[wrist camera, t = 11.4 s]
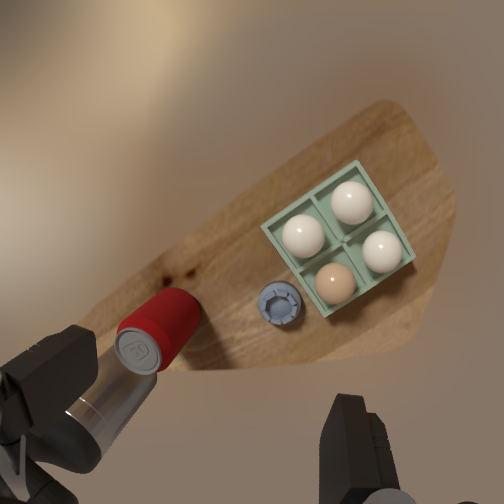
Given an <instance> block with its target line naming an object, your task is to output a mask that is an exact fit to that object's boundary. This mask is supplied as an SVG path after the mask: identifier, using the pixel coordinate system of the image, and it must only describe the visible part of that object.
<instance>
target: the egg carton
mask: <svg viewBox="0 0 504 504" xmlns="http://www.w3.org/2000/svg"><path fill="white" fill-rule="evenodd" d="M347 181H356V182H359V183H361V184H363V185H364V186H366V187H367V188H368V189H369V191H370V193H371V195H372V197H373V210H372V213H371V214H370V216H369V217H368V218H367V219H366V220H365V221H364V222H362V223H360V224H357V225H348V224H345V223H343V222H341V221H339V220H338V219H337V218H336V217H335V215H334V214H333V212H332V209H331V205H330V200H331V195H332V193H333V191H334V190H335V188H336V187H337V186H339V185H340V184H342V183H344V182H347ZM301 214H305V215H310V216H312V217H314V218H316V219H317V220H318V221H319V222H320V223H321V224H322V226H323V228H324V232H325V241H324V244H323V246H322V248H321V250H320V251H319V252H318V253H317V254H315V255H313V256H311V257H308V258H299V257H295V256H293V255H292V254H290V253H289V252H288V251H287V250H286V249H285V247H284V245H283V242H282V230H283V227H284V225H285V224H286V222H287V221H288V220H289V219H291V218H292V217H294V216H296V215H301ZM260 227H261V228H262V229H263V231H264V232H265V234H266V235H267V236H268V238H269V239H270V241H271V242H272V244H273V245H274V246H275V248H276V249H277V251H278V252H279V253H280V255H281V256H282V258H283V259H284V261H285V262H286V263H287V265H288V266H289V268H290V269H291V270H292V272H293V273H294V275H295V276H296V278H297V279H298V280H299V282H300V283H301V285H302V286H303V288H304V289H305V291H306V292H307V293H308V295H309V296H310V298H311V299H312V301H313V302H314V304H315V305H316V306H317V308H318V309H319V311H320V312H321V314H322V315H323V317H324V318H325V317H327V316H328V315H330V314H332V313H333V312H335V311H336V310H338V309H340V308H341V307H343V306H344V305H346V304H348V303H349V302H351V301H352V300H354V299H355V298H357V297H359V296H360V295H362V294H363V293H365V292H366V291H368V290H369V289H371V288H372V287H374V286H375V285H377V284H378V283H380V282H381V281H383V280H384V279H386V278H387V277H389V276H390V275H392V274H393V273H394V272H396V271H397V270H399V269H400V268H402V267H403V266H404V265H406V264H407V263H409V262H410V261H411V260H413V259H414V258H416V255H415V253H414V252H413V250H412V248H411V246H410V244H409V242H408V241H407V239H406V237H405V235H404V233H403V232H402V230H401V228H400V226H399V225H398V223H397V221H396V220H395V218H394V216H393V214H392V213H391V211H390V209H389V208H388V206H387V205H386V203H385V201H384V200H383V198H382V196H381V195H380V193H379V192H378V190H377V189H376V187H375V185H374V184H373V182H372V181H371V179H370V178H369V176H368V175H367V173H366V172H365V170H364V169H363V167H362V166H361V164H360V163H359V161H358V160H355V161H353V162H351V163H350V164H348V165H347V166H345V167H344V168H342V169H341V170H339V171H338V172H337V173H335V174H334V175H332V176H331V177H329V178H328V179H326V180H325V181H323V182H322V183H321V184H319V185H318V186H316V187H315V188H313V189H312V190H310V191H309V192H308V193H306V194H305V195H303V196H302V197H300V198H299V199H297V200H296V201H295V202H293V203H292V204H290V205H289V206H287V207H286V208H285V209H283V210H282V211H280V212H279V213H277V214H276V215H275V216H273V217H272V218H270V219H269V220H267V221H266V222H265V223H263V224H262V225H261V226H260ZM381 230H384V231H389V232H391V233H393V234H394V235H395V236H397V238H398V239H399V240H400V242H401V245H402V249H403V255H402V259H401V261H400V263H399V265H398V266H397V267H396V268H395V269H394V270H392V271H390V272H387V273H378V272H375V271H373V270H371V269H370V268H369V267H368V266H367V265H366V264H365V262H364V260H363V257H362V247H363V243H364V241H365V240H366V238H367V237H368V236H369V235H370V234H372V233H373V232H376V231H381ZM334 262H337V263H342V264H344V265H346V266H347V267H349V268H350V269H351V271H352V272H353V274H354V276H355V280H356V286H355V290H354V293H353V295H352V296H351V297H350V298H349V299H348V300H347V301H346V302H344V303H341V304H336V305H333V304H328V303H326V302H324V301H323V300H321V299H320V298H319V296H318V295H317V293H316V291H315V287H314V281H315V277H316V274H317V273H318V271H319V270H320V269H321V268H322V267H323V266H325V265H326V264H329V263H334Z"/></svg>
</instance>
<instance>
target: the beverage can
mask: <svg viewBox="0 0 504 504" xmlns="http://www.w3.org/2000/svg"><path fill="white" fill-rule="evenodd" d="M200 318H201V313H200V308H199V306H198V304H197V302H196V300H195V299H194V298H193V297H192V296H191V295H190V294H189V293H188V292H186V291H184V290H182V289H179V288H167V289H164V290H162V291H161V292H159V293H158V294H156V295H155V296H154V297H152V298H151V299H150V300H148V301H147V302H146V303H145V304H143V305H142V306H141V307H139V308H138V309H137V310H136V311H134V312H133V313H132V314H131V315H129V316H128V317H127V318H126V319H124V320H123V321H122V322H121V324H120V325H119V327H118V330H117V336H116V338H115V343H114V346H115V351H116V354H117V356H118V358H119V359H120V361H121V362H122V363H123V365H125V366H126V367H127V368H128V369H129V370H131V371H133V372H135V373H137V374H141V375H149V374H152V373H155V372H160V371H163V370H164V369H166V368H167V367H168V366H169V365H170V364H171V362H172V361H173V360H174V358H175V357H176V356H177V354H178V353H179V352H180V350H181V349H182V348H183V346H184V345H185V344H186V342H187V341H188V339H189V338H190V337H191V335H192V334H193V332H194V331H195V330H196V328H197V327H198V325H199V322H200Z"/></svg>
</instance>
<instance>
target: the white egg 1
mask: <svg viewBox="0 0 504 504" xmlns="http://www.w3.org/2000/svg"><path fill="white" fill-rule="evenodd" d="M324 241H325V232H324V228H323V226H322V224H321V223H320V222H319V221H318V220H317V219H316V218H314V217H312V216H310V215H305V214H301V215H296V216H294V217H292V218H291V219H289V220H288V221H287V222H286V224H285V225H284V227H283V230H282V242H283V245H284V247H285V249H286V250H287V251H288V252H289V253H290V254H292V255H293V256H295V257H299V258H308V257H311V256H313V255H315V254H317V253H318V252H319V251H320V250H321V248H322V246H323V244H324Z"/></svg>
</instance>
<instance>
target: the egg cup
mask: <svg viewBox="0 0 504 504" xmlns="http://www.w3.org/2000/svg"><path fill="white" fill-rule="evenodd" d="M258 308H259V312H260V314H261V315H262V317H263V318H264V319H265V320H267V321H268V322H270V323H273V324H278V325H282V324H287V323H289V322H291V321H293V320H294V319H295V318H296V317H297V316H298V314H299V312H300V309H301V296H300V293H299V291H298V290H297V288H296V287H295V286H294V285H292V284H291V283H289V282H286V281H274V282H271V283H269V284H268V285H267V286H265V287H264V289H263V290H262V292H261V294H260V297H259V300H258Z"/></svg>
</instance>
